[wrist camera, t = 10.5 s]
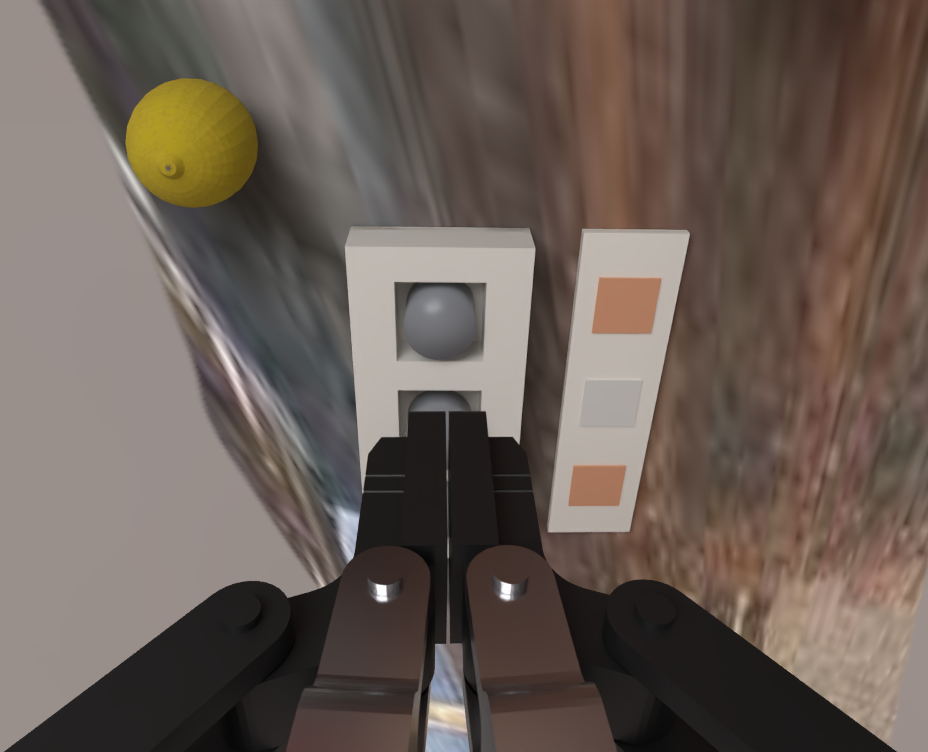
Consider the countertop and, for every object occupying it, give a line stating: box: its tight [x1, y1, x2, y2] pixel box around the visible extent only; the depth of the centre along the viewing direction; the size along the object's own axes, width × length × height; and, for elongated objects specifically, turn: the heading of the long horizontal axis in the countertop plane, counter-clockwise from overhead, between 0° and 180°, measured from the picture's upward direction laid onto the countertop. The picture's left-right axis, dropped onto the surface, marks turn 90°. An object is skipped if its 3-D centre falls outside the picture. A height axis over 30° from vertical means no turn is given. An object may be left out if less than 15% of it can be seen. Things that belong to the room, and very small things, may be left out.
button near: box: [404, 282, 476, 360], centre depth 40 cm, size 4×4×3 cm
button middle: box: [406, 390, 471, 470], centre depth 43 cm, size 4×4×3 cm
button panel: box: [345, 226, 535, 558], centre depth 44 cm, size 10×23×3 cm, turn 179°
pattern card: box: [547, 229, 690, 532], centre depth 46 cm, size 6×23×1 cm, turn 179°
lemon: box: [126, 78, 258, 208], centre depth 33 cm, size 6×6×8 cm
